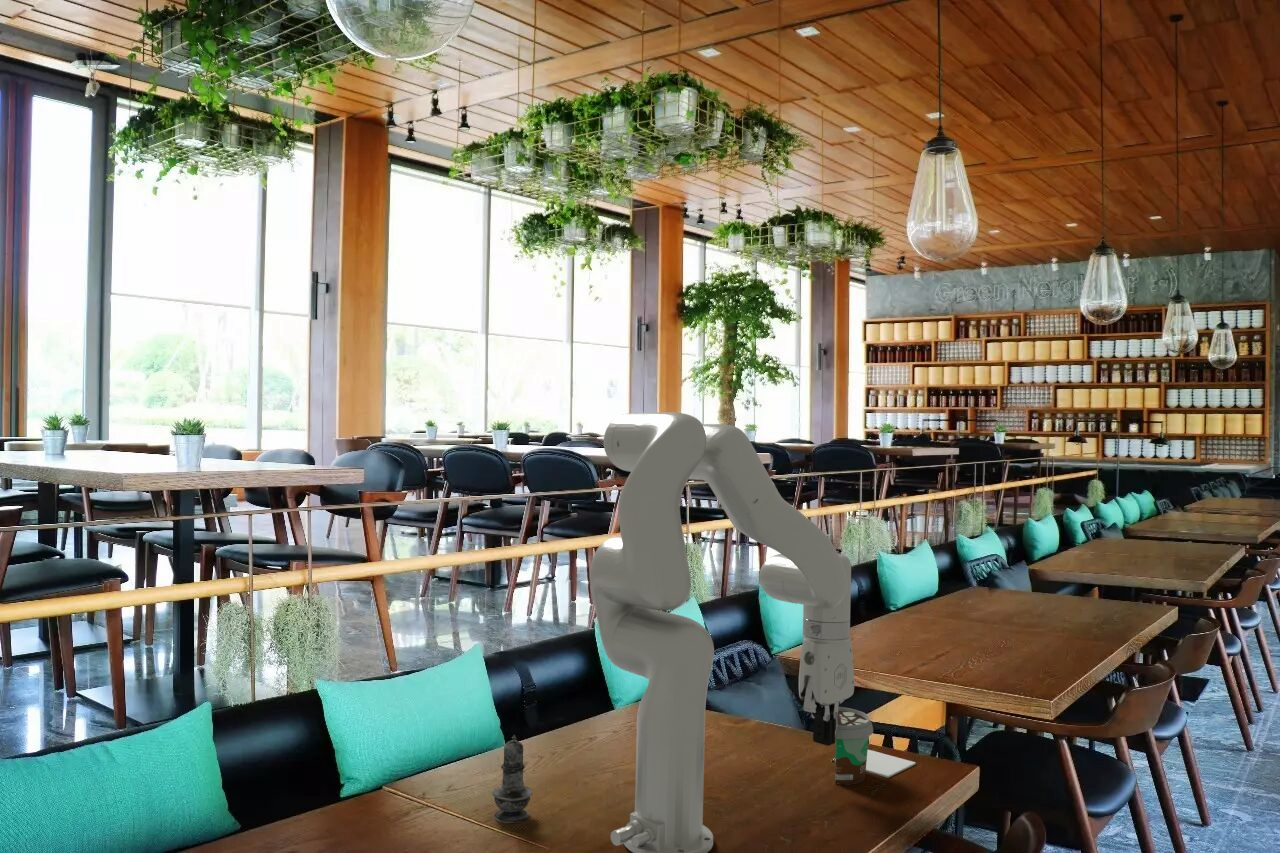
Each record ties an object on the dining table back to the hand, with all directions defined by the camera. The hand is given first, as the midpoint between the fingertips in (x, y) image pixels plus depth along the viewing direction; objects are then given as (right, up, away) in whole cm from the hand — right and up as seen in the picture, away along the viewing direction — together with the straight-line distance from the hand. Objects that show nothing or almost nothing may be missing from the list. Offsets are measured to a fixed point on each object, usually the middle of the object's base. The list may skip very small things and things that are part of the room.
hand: (824, 742), depth 153 cm
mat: (+11, -8, +14) cm, 20 cm away
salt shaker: (-49, -7, -14) cm, 51 cm away
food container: (+6, -8, +7) cm, 12 cm away
